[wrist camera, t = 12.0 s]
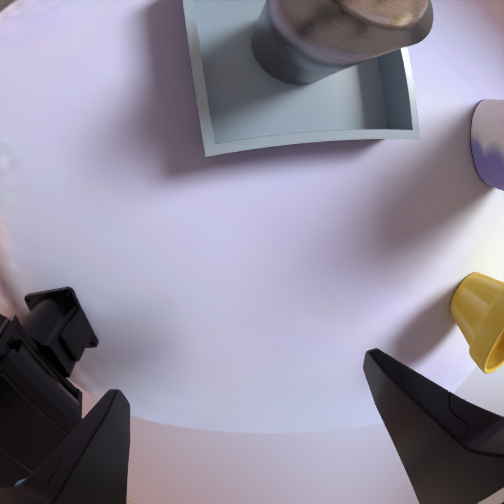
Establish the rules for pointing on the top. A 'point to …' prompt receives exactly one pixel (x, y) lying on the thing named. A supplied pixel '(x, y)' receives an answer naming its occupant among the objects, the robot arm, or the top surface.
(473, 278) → the plant pot
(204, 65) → the bin
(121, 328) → the top surface
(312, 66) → the metallic can
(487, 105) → the container
